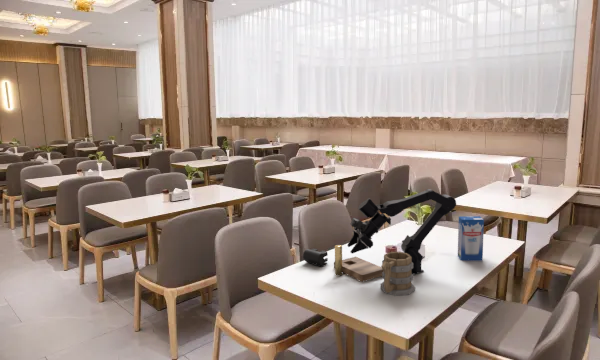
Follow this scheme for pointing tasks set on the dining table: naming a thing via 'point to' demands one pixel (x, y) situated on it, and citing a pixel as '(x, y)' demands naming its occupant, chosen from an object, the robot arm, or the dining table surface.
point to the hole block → (360, 269)
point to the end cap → (315, 257)
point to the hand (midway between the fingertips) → (349, 249)
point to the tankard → (397, 273)
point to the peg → (338, 259)
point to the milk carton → (470, 238)
